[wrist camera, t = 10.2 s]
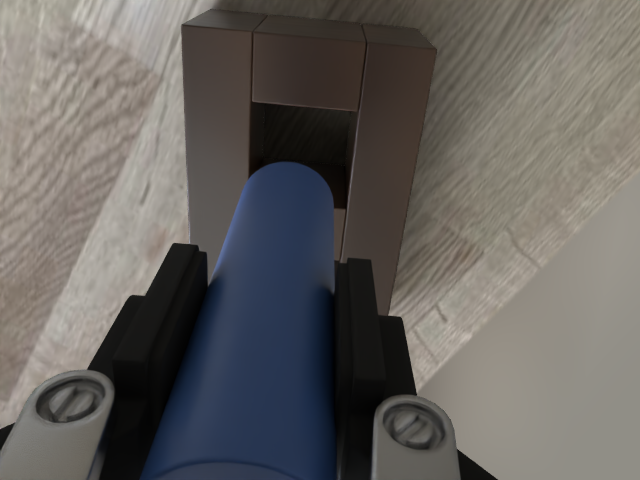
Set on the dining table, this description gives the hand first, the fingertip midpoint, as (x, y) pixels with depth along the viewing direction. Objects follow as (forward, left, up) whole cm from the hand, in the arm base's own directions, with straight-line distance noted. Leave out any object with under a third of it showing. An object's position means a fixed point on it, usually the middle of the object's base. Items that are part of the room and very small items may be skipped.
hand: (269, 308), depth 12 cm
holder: (0, +3, -15) cm, 15 cm away
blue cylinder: (0, 0, -6) cm, 6 cm away
